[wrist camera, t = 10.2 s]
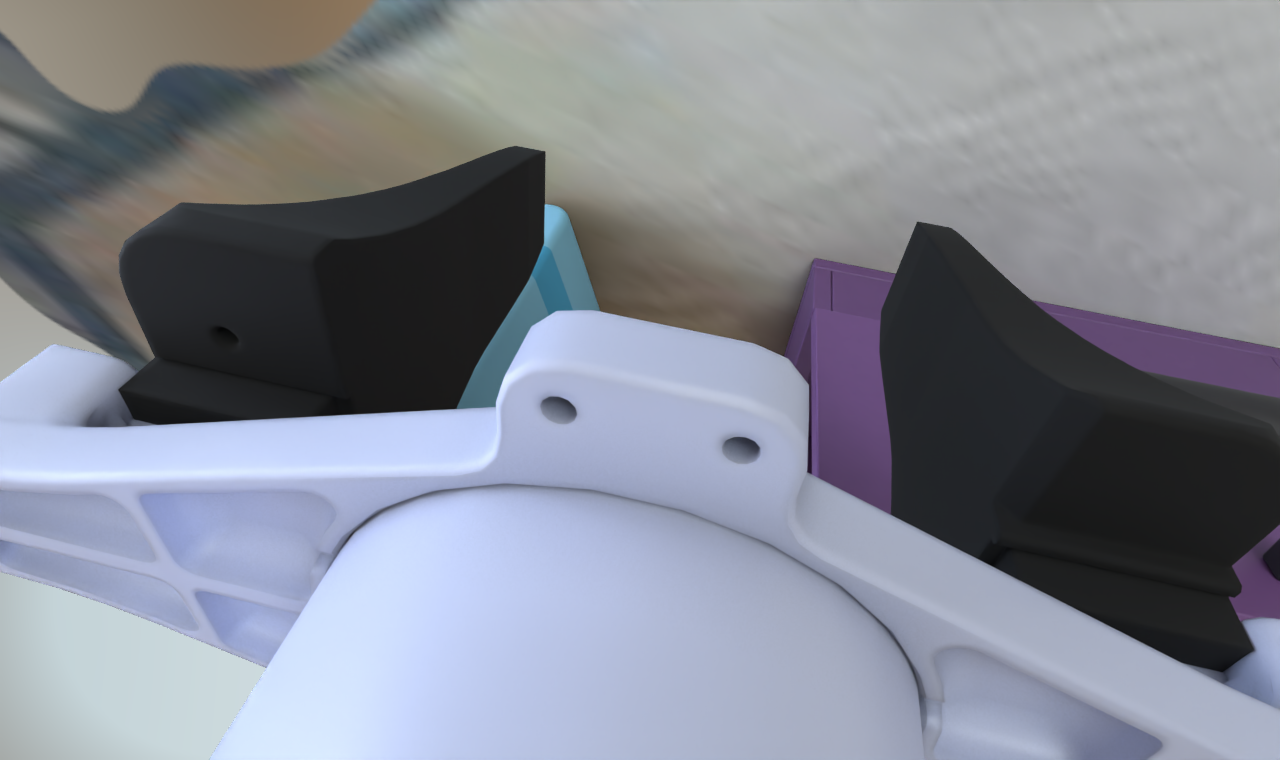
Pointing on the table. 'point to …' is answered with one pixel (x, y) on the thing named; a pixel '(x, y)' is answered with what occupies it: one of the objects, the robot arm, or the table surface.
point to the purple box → (1114, 335)
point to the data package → (534, 306)
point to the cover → (861, 450)
